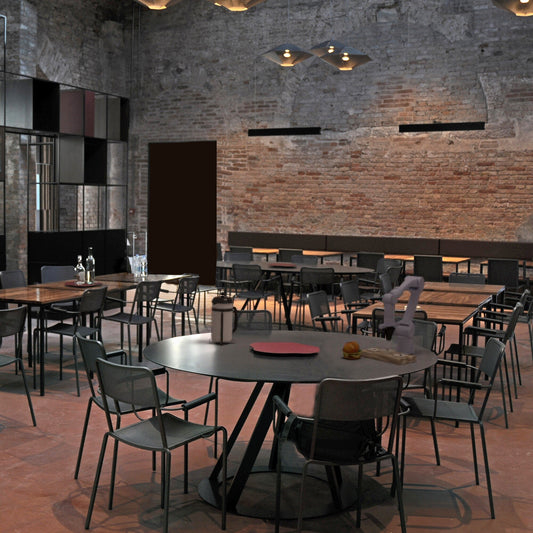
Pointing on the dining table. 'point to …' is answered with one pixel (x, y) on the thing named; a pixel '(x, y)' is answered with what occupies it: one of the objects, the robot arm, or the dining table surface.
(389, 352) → the two dot tile
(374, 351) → the one dot tile
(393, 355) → the three dot tile
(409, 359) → the tile board
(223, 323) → the coffee press
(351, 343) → the cheeseburger
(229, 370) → the dining table surface
